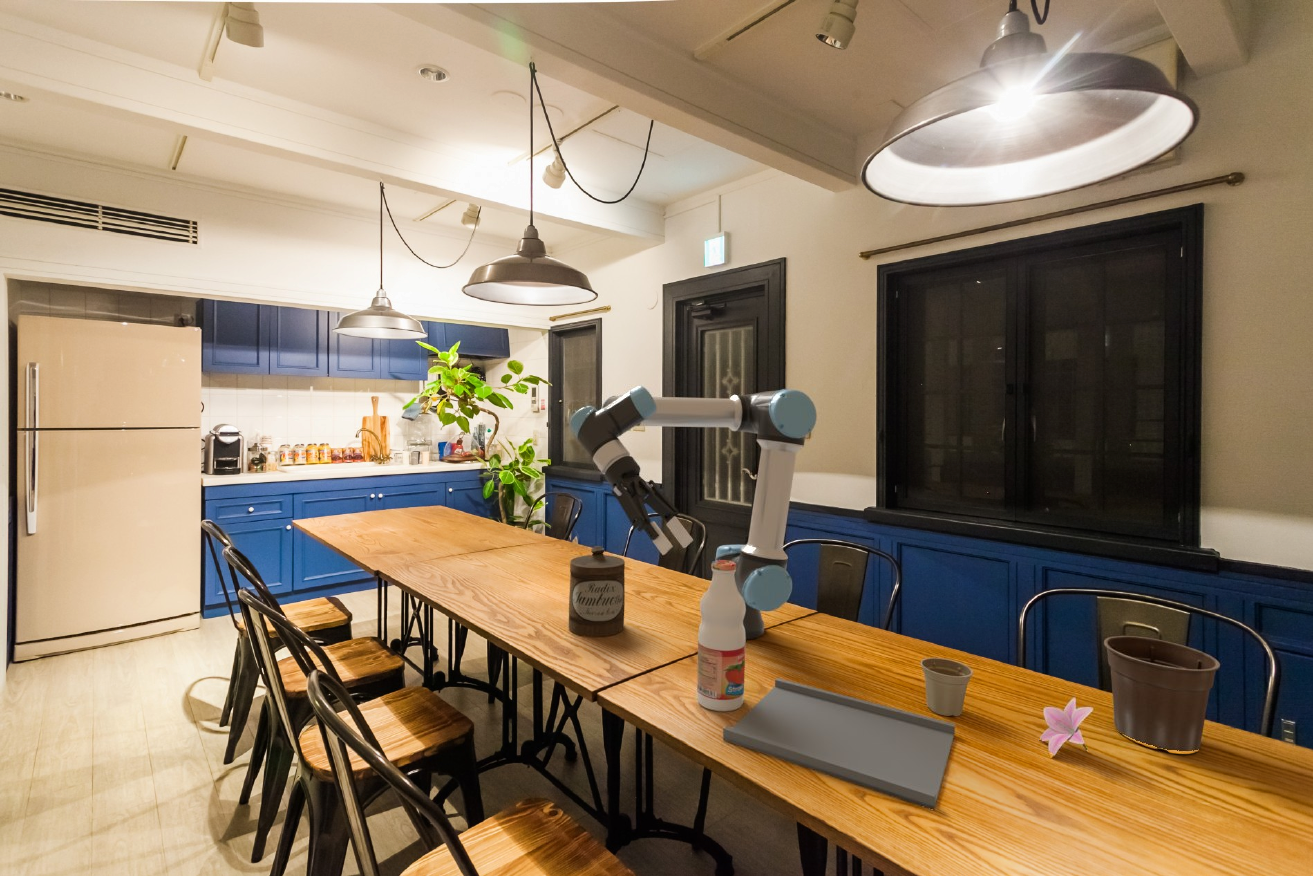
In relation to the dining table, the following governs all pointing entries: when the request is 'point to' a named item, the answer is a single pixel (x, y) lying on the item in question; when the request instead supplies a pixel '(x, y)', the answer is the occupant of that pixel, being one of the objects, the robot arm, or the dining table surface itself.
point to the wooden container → (596, 594)
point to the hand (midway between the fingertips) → (678, 547)
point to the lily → (1064, 725)
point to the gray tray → (849, 740)
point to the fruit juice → (721, 642)
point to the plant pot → (1160, 691)
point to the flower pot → (945, 685)
